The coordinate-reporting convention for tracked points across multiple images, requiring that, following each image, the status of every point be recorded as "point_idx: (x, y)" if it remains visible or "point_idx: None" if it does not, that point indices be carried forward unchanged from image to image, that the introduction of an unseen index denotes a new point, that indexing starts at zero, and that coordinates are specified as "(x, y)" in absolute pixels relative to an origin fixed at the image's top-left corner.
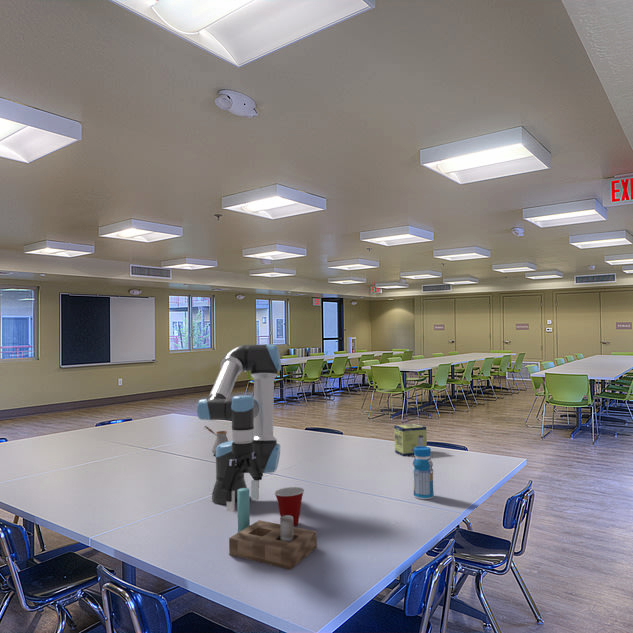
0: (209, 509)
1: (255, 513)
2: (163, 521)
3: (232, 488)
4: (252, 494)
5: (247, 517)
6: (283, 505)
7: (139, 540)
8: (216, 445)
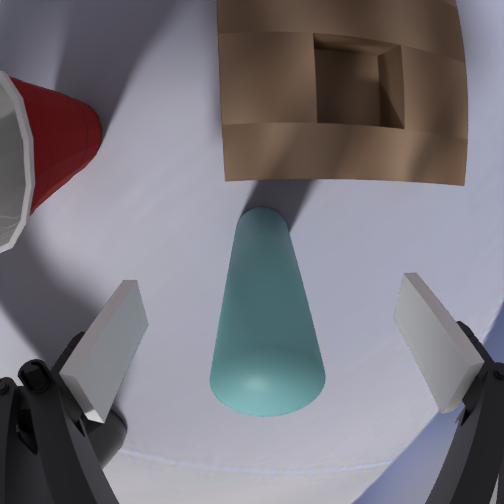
0: (163, 425)
1: (86, 315)
2: (287, 451)
3: (498, 383)
4: (136, 336)
5: (271, 237)
6: (59, 132)
7: (395, 419)
8: None
